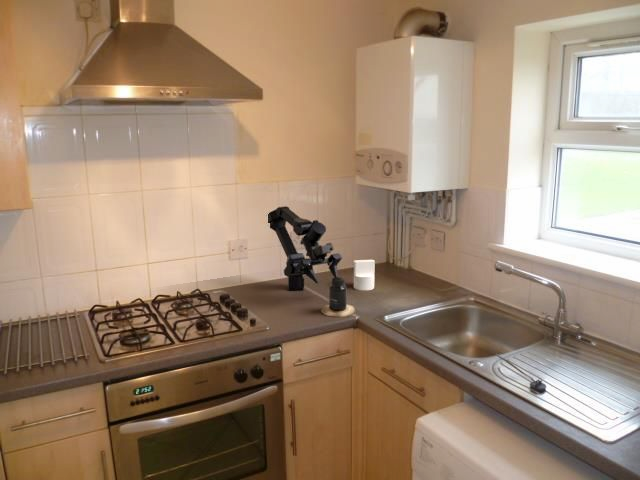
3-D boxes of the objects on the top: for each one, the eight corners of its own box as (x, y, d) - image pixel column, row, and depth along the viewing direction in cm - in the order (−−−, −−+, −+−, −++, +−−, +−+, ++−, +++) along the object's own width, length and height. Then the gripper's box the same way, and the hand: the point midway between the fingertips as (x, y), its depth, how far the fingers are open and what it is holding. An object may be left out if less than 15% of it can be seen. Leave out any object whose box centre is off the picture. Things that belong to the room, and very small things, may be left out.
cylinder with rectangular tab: (371, 283, 243) (372, 257, 240) (376, 290, 234) (376, 263, 232) (351, 284, 242) (352, 258, 239) (355, 290, 233) (356, 264, 230)
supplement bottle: (329, 311, 206) (329, 281, 203) (328, 305, 212) (328, 276, 210) (347, 311, 206) (347, 281, 203) (346, 305, 212) (346, 276, 210)
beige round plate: (323, 318, 202) (323, 315, 202) (319, 306, 214) (319, 304, 214) (357, 316, 204) (357, 314, 203) (351, 304, 216) (351, 302, 216)
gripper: (299, 239, 209) (314, 274, 202) (339, 233, 218) (355, 266, 212) (289, 254, 217) (304, 288, 210) (328, 248, 227) (343, 280, 220)
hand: (327, 280), depth 213 cm, fingers open, 9 cm apart
